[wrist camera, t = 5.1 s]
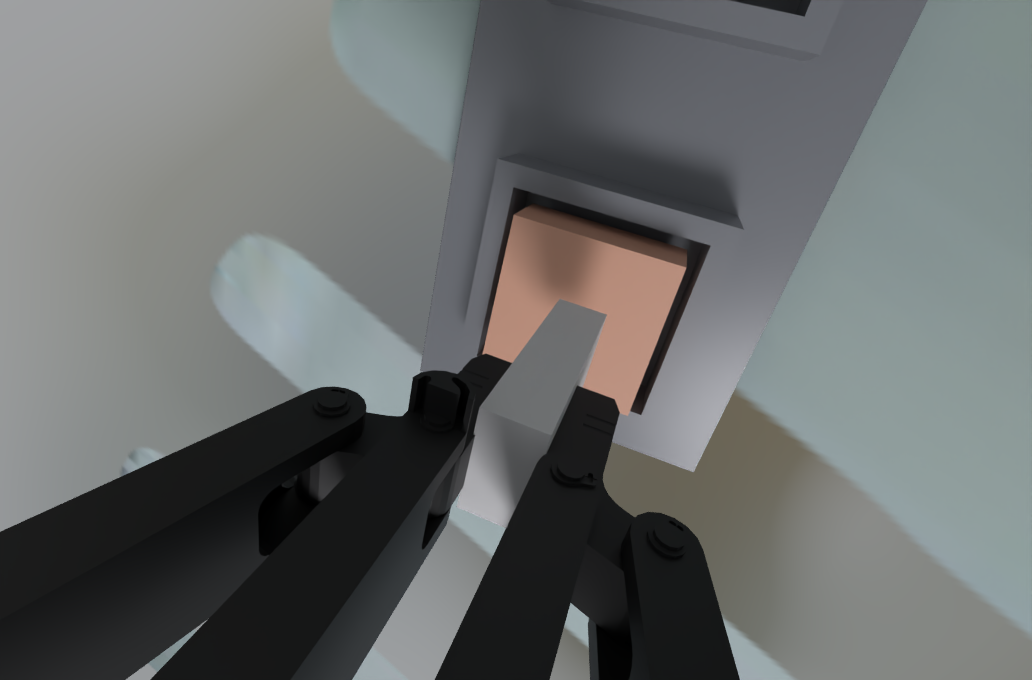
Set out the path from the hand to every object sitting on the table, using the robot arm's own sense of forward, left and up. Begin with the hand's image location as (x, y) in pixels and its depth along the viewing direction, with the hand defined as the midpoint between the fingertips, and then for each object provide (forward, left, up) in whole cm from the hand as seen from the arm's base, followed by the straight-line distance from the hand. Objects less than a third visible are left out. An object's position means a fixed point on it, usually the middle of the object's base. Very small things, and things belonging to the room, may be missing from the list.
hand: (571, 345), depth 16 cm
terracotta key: (0, 0, -5) cm, 5 cm away
